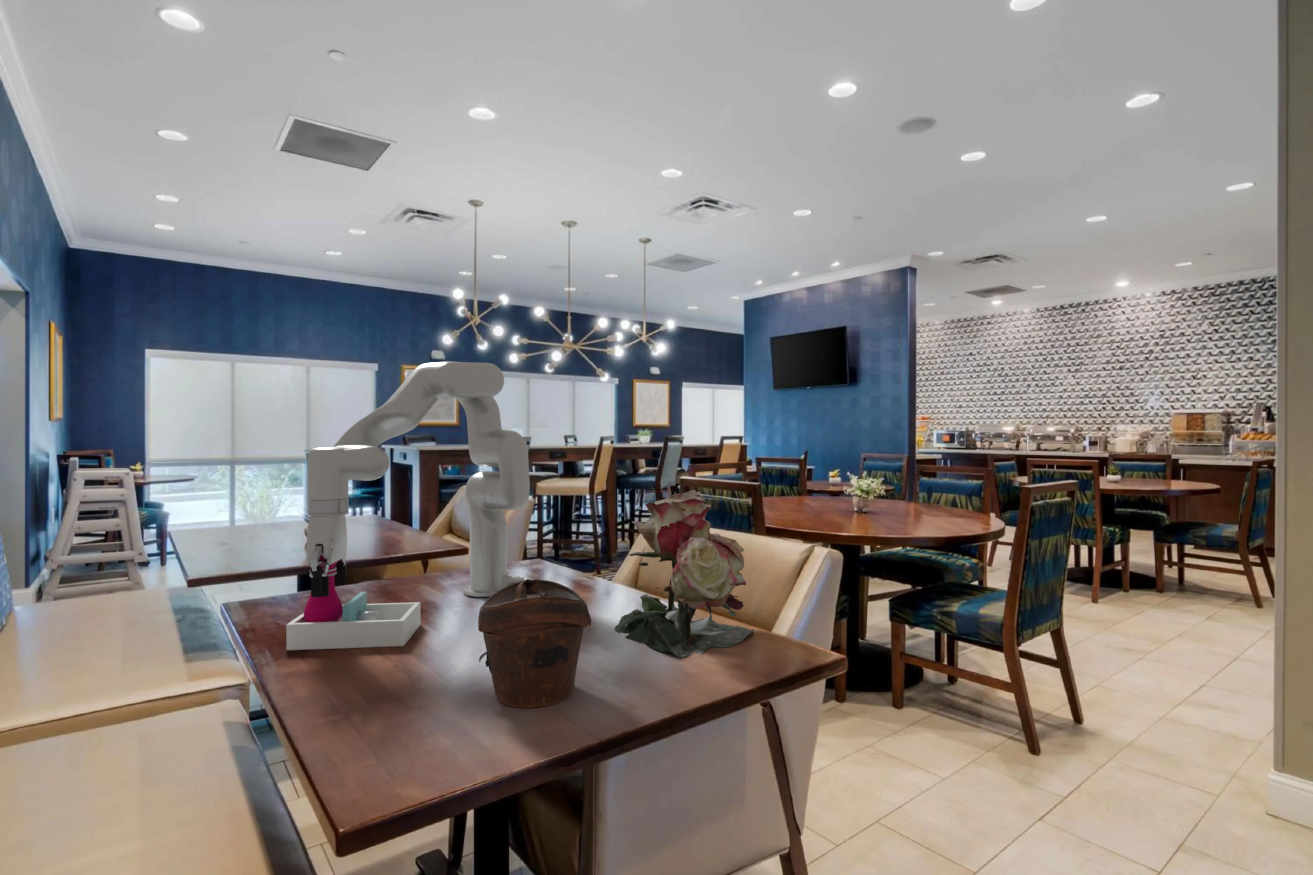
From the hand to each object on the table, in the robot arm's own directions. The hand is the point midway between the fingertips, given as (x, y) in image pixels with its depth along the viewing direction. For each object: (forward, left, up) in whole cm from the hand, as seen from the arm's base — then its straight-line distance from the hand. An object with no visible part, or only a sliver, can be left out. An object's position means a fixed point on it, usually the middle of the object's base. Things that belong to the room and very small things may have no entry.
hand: (329, 590), depth 137 cm
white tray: (-6, 0, -10) cm, 11 cm away
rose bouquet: (-75, +6, -10) cm, 75 cm away
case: (-44, +33, -10) cm, 56 cm away
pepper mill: (+1, +1, -9) cm, 9 cm away
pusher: (-7, 0, -9) cm, 11 cm away
